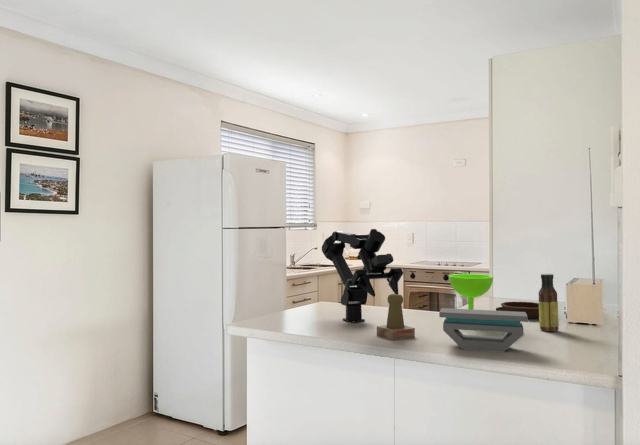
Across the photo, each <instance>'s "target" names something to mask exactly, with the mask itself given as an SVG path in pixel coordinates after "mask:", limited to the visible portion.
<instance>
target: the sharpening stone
mask: <svg viewBox="0 0 640 445" xmlns="http://www.w3.org/2000/svg"><path fill="white" fill-rule="evenodd" d="M439 318H444V320H443V323H442V326H443V328H442V330H443V332H444V333H445V334H446V335H447V336H448V337H449V338H450V339H451V340H452V341H453V342H454V343H455V344H456V345H457V346H458V347H459V348H460V349H461V350H465V351H477V352H478V351H481V352H492V351H495V352H494V353H504V352H505V351H506V350H508V349H509V348H510V347H512V346H513V344H515V343H516V341H518V340H519V339H521V338H522V337H524V325H523V323H522V322H525V323H526V322H527V323H528V320H529V319H528V316H527V314H526V312H515V311H496V310H490V309H474V310H471V309H468V308H465V309H464V308H451V307H450V308H447V307H446V308H445V307H441V308H440V310H439ZM462 330H463V331H477V332H494V333H495V332H496V333H505V334H503V335H502V336H491V335H490V336H488V335H474V334H463V332H462Z"/></svg>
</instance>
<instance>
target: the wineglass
mask: <svg viewBox="0 0 640 445" xmlns="http://www.w3.org/2000/svg"><path fill="white" fill-rule="evenodd" d="M448 278H449V283H450V286H451V287H452V289H453V290H454V291H455V292H456V293H457V294H459V295H461V296H462V297H465V298H467V304H468V306H467V307H468V308H467V309H471V310H475V309H474V303H475V302H474V298H478V297H481V296H483V295H485V294H486V293H487V292H488V291H489V290H490V289H491V286H492V285H493V280H494V276H493V275H489V274H481V273H479V274H477V273H456V274H449V275H448Z"/></svg>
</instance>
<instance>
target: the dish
mask: <svg viewBox="0 0 640 445" xmlns="http://www.w3.org/2000/svg"><path fill="white" fill-rule="evenodd" d="M495 311H515V312H526V314H527V316H528V320H533V319H534V320H535V319H539V302H532V301H505V302H501V303H500V306H499V307H498V306H497V307H496V308H495Z"/></svg>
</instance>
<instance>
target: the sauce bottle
mask: <svg viewBox="0 0 640 445" xmlns="http://www.w3.org/2000/svg"><path fill="white" fill-rule="evenodd" d="M554 278H555V277H554V274H552V273H541V274H540V279H541V287H540V289H539V291H538V303H539V318H538V320H539V321H538V322H539V329H540V330H541V331H543V332H548V331H549V332H550V333H553V332H554V331H556V332H558V331H559V329H560V328H559V326H560V323H559V321H560V320H559V302H558V292H557V291H556V289H555V287H554Z"/></svg>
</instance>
